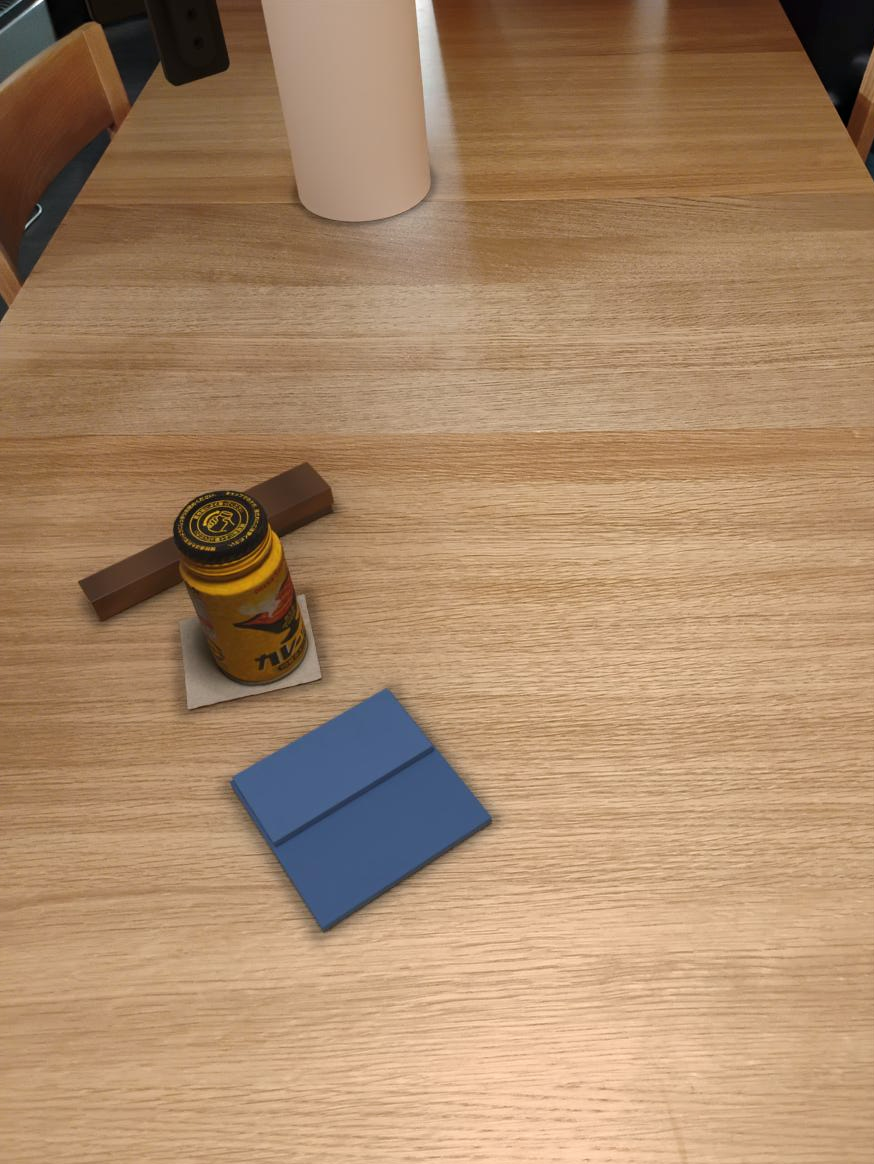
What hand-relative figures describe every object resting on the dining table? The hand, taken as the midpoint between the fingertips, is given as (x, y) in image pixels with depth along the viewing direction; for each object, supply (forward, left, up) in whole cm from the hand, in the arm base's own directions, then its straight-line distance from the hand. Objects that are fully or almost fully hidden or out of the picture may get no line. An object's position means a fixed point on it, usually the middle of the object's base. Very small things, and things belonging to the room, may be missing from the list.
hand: (158, 45), depth 51 cm
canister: (+28, +34, -31) cm, 54 cm away
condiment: (-9, -13, -31) cm, 34 cm away
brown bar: (-7, -3, -30) cm, 31 cm away
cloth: (-9, -27, -30) cm, 41 cm away
